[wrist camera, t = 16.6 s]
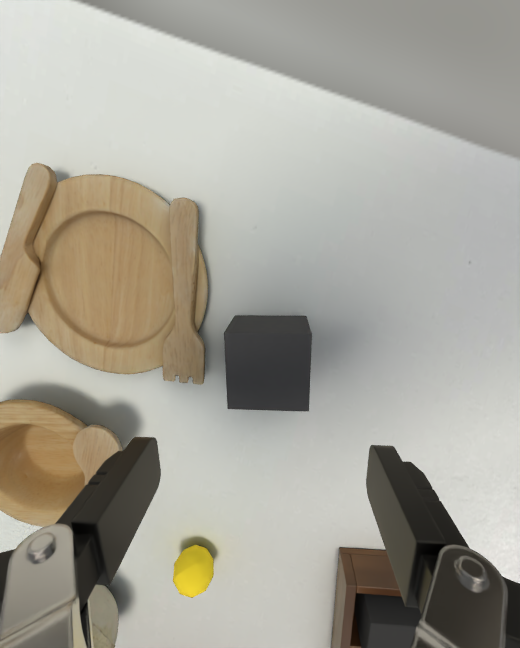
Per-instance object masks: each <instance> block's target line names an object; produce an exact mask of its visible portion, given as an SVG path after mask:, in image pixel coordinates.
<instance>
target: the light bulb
mask: <svg viewBox="0 0 520 648" xmlns="http://www.w3.org/2000/svg"><path fill="white" fill-rule="evenodd" d="M213 574H214V573H213V558H212V556H211V555H210V553H209V551H208V550H207V548H204V547H201V546H198V545H194V546H191V547H189V548H187V549H184V550H183V551H182V553H181V554H180V556H179V557H178V559H177V560H176V562H175V564H174V576H173V582H174V584H175V586H176V587H177V589H178V591H179V593H180V594H182V595H185V596H188V597H191V598H193V597H195V596H196V595H198V594H200V593H202V592H204V591H206V589H207V587H208V585H209V583H210V582H211V580H212V578H213Z"/></svg>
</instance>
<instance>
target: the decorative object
mask: <svg viewBox="0 0 520 648" xmlns="http://www.w3.org/2000/svg"><path fill="white" fill-rule="evenodd" d="M89 602H90V611H91V623H92V634H93V645H94V648H114V647H115V642H116V638H117V633H118V621H119V617H118V608H117V604H116V601H115V599H114V597H113V595H112V594H111V592H110V591H109V590H108V588H107V587H105V586H104V585H95V587H94V589H93V591H92V593H91V594H90V596H89Z"/></svg>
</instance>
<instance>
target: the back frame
mask: <svg viewBox="0 0 520 648" xmlns="http://www.w3.org/2000/svg"><path fill="white" fill-rule="evenodd" d="M356 593H362V594H376V595H389V596H401V593H400V590H399V587H398V584H397V581H396V578H395V575H394V572H393V569H392V566H391V563H390V560H389V557H388V554H387V551H385V550H370V549H354V548H339V560H338V572H337V584H336V596H335V607H334V619H333V631H332V643H331V648H361V643H360V638H359V633H358V628H357V622H356V617H355V612H354V606H355V597H356Z"/></svg>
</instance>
